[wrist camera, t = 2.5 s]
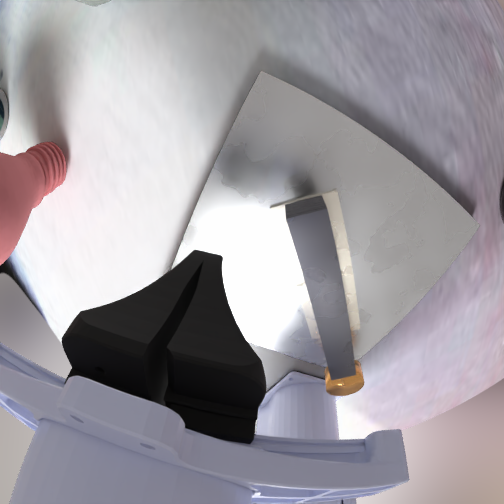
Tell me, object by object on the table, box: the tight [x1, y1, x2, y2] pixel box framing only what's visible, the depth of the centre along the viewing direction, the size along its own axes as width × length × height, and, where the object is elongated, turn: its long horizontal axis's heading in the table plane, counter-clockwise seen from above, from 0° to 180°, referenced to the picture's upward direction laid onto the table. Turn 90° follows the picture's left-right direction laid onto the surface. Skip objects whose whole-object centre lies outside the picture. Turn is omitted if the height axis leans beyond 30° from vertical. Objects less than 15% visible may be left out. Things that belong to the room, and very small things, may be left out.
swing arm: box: [285, 195, 364, 396], centre depth 18 cm, size 17×3×2 cm, turn 19°
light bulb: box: [0, 142, 67, 265], centre depth 12 cm, size 7×7×12 cm
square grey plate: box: [171, 71, 480, 367], centre depth 18 cm, size 18×18×2 cm
